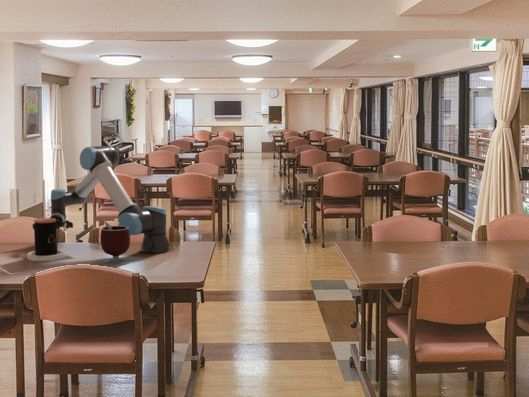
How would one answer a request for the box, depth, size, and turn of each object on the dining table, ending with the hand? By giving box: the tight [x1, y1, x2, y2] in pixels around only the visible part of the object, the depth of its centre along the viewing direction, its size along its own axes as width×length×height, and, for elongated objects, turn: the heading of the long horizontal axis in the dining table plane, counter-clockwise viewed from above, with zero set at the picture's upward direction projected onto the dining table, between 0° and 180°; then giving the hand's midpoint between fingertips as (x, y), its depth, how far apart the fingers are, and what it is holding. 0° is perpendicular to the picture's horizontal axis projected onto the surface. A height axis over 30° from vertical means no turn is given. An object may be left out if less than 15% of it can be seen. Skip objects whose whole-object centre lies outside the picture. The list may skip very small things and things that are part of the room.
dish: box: [26, 248, 67, 262], centre depth 364 cm, size 18×18×2 cm
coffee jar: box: [33, 217, 58, 256], centre depth 363 cm, size 11×11×18 cm
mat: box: [19, 254, 74, 265], centre depth 364 cm, size 22×20×1 cm
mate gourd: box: [100, 220, 131, 267], centre depth 351 cm, size 16×14×20 cm
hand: (50, 228), depth 373 cm, fingers open, 13 cm apart
